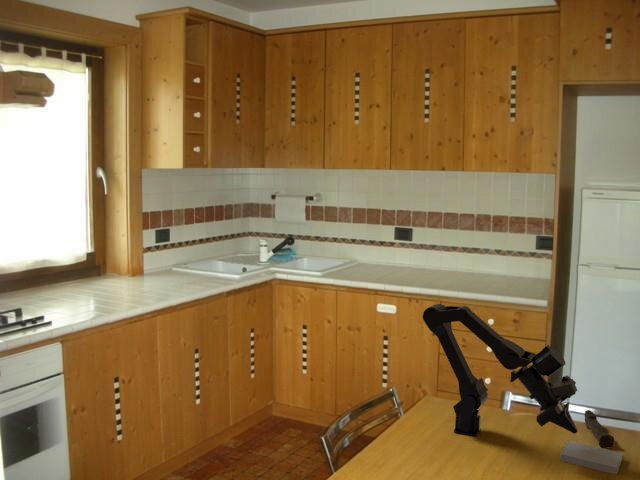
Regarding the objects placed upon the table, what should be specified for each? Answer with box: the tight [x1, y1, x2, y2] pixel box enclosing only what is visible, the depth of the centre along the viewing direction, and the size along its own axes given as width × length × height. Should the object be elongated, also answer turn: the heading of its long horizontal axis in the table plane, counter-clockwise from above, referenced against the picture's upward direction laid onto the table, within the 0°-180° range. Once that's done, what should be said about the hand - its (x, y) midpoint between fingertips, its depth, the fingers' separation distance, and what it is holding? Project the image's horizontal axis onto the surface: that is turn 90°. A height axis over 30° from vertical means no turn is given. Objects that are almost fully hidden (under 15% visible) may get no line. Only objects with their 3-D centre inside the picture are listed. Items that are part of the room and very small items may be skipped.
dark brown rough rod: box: [584, 409, 615, 448], centre depth 197 cm, size 19×4×5 cm, turn 173°
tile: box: [559, 440, 623, 475], centre depth 180 cm, size 2×10×14 cm
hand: (576, 432), depth 181 cm, fingers closed
